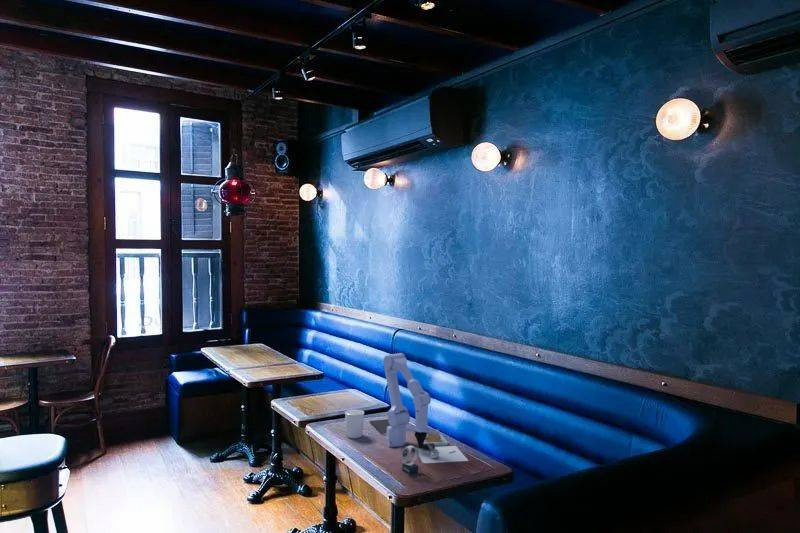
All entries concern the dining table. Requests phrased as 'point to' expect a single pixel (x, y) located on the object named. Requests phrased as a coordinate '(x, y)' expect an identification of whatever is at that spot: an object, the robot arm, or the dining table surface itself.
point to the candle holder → (354, 423)
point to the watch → (409, 466)
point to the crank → (431, 450)
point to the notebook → (380, 425)
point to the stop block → (433, 437)
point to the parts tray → (438, 442)
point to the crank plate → (442, 455)
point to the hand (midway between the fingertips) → (420, 447)
